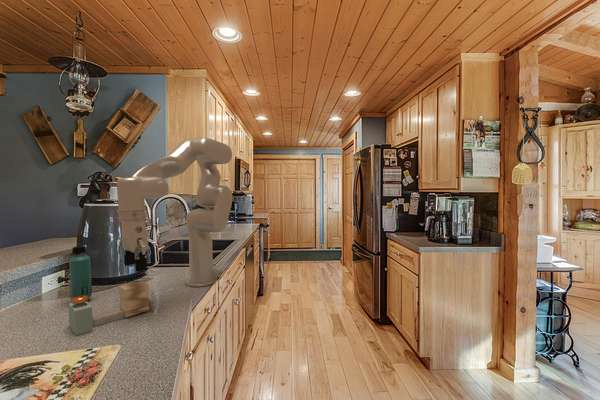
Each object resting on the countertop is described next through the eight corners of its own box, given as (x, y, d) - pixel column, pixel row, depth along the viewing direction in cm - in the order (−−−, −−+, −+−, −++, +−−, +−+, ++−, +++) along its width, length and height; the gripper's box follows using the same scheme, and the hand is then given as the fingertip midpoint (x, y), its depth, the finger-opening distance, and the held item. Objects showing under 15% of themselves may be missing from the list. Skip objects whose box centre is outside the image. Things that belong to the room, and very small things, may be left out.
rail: (147, 306, 104) (146, 297, 104) (152, 310, 101) (152, 300, 101) (91, 322, 92) (90, 312, 91) (95, 327, 89) (94, 316, 88)
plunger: (86, 314, 90) (85, 294, 90) (89, 318, 88) (88, 297, 88) (71, 318, 88) (70, 297, 87) (74, 322, 85) (73, 301, 85)
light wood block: (142, 306, 103) (142, 280, 103) (149, 310, 100) (148, 284, 99) (120, 312, 98) (119, 286, 97) (125, 317, 94) (125, 289, 94)
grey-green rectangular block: (85, 322, 92) (84, 299, 92) (93, 330, 87) (92, 306, 86) (69, 326, 89) (68, 303, 89) (76, 335, 84) (75, 311, 83)
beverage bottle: (81, 305, 105) (78, 248, 104) (65, 304, 106) (62, 247, 105) (97, 298, 111) (95, 244, 110) (82, 297, 112) (80, 244, 112)
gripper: (155, 216, 94) (158, 270, 96) (134, 212, 106) (137, 260, 107) (129, 219, 89) (133, 276, 90) (110, 215, 100) (113, 265, 102)
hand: (135, 267), depth 99 cm, fingers open, 9 cm apart
